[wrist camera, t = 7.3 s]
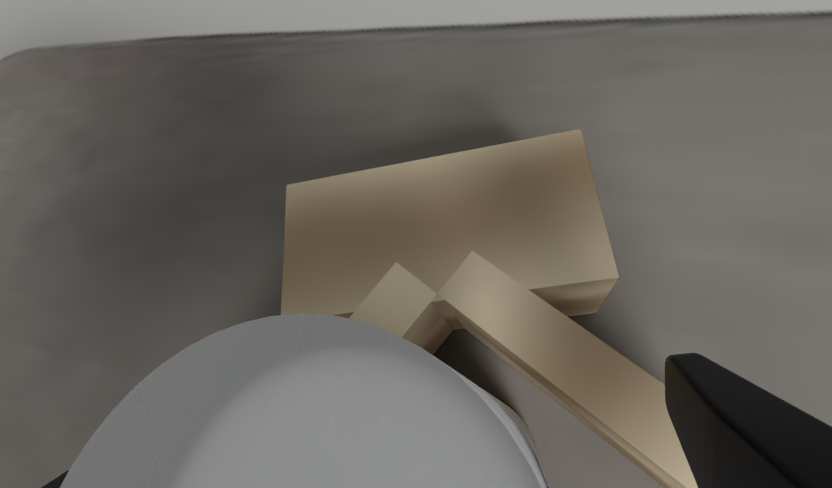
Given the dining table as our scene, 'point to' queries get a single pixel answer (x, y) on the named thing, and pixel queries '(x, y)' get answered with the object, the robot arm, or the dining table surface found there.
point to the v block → (484, 275)
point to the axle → (307, 417)
